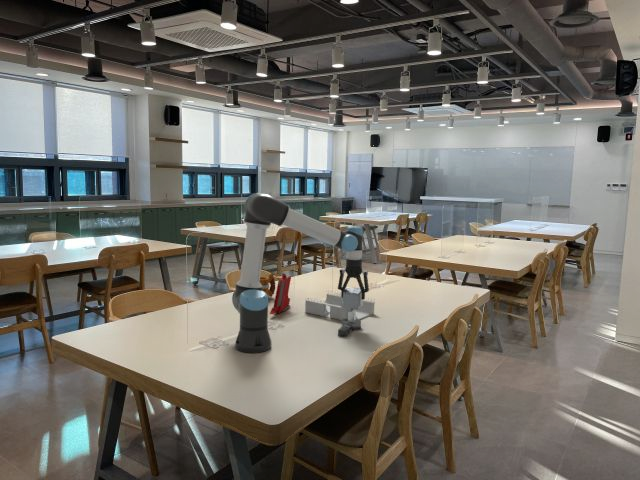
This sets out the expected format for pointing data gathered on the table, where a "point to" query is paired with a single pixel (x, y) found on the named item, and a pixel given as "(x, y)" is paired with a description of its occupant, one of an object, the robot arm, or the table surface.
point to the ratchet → (349, 324)
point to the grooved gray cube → (351, 298)
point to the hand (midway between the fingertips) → (352, 304)
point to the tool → (282, 295)
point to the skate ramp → (337, 308)
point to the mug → (265, 285)
